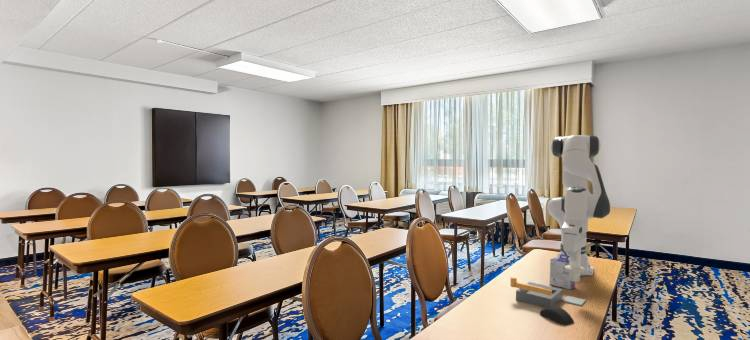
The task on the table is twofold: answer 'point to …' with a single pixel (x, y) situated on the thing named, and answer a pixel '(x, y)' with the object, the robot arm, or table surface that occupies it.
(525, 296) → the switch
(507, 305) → the table surface
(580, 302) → the pad
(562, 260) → the ink cartridge box
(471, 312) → the table surface
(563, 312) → the computer mouse
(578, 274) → the plug
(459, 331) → the table surface
